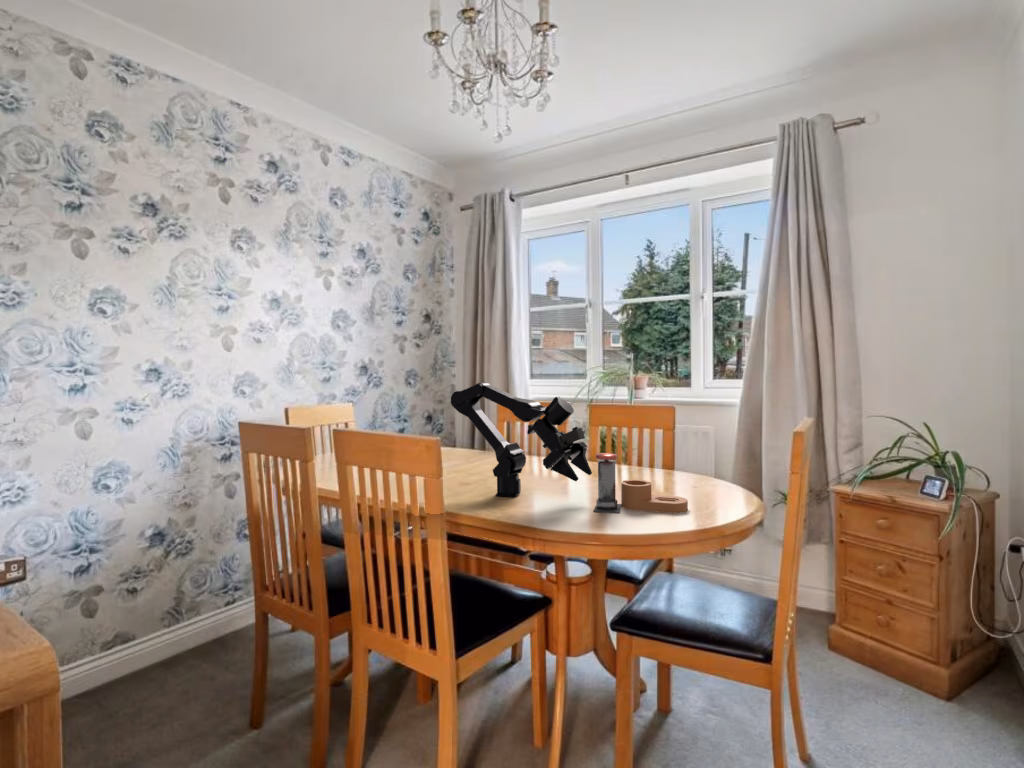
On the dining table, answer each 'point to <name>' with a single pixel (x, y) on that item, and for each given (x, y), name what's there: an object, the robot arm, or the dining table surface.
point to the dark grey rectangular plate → (609, 510)
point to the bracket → (649, 498)
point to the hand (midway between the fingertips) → (584, 477)
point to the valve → (606, 482)
